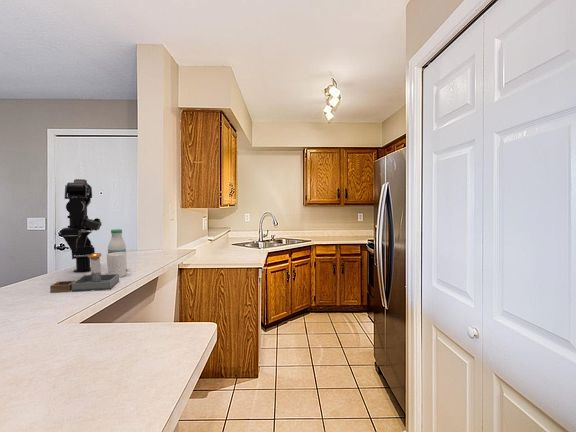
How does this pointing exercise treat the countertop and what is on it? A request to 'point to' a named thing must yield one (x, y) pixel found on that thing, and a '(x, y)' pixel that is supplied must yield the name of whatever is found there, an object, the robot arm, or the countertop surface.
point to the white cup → (116, 263)
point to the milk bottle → (116, 242)
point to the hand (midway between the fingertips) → (78, 250)
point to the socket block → (61, 286)
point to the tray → (95, 283)
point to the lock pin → (95, 266)
